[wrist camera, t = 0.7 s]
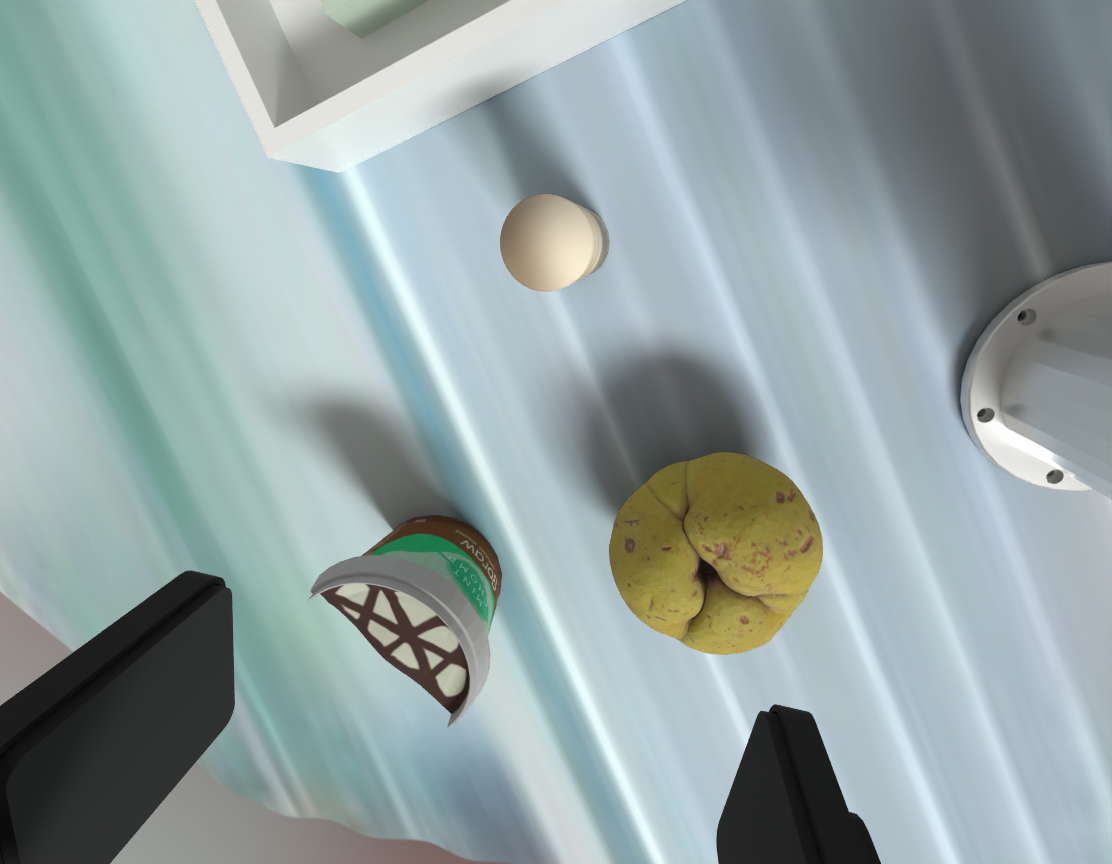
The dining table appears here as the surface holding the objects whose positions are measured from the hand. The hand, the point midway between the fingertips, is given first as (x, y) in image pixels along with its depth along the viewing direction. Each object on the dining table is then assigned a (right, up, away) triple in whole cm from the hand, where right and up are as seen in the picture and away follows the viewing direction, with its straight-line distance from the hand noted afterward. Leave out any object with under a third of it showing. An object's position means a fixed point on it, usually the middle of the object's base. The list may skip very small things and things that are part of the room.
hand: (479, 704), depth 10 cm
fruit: (+11, -1, +28) cm, 31 cm away
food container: (-5, -4, +32) cm, 33 cm away
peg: (+2, +16, +24) cm, 29 cm away
